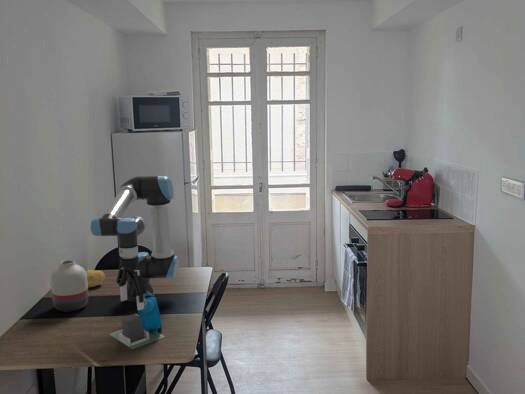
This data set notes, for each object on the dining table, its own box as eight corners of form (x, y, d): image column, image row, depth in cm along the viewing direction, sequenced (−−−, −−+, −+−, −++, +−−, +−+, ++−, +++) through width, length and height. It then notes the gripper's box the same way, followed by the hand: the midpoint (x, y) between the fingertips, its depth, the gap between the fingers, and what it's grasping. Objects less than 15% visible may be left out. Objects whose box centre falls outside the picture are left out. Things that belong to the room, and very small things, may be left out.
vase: (65, 300, 267) (61, 256, 262) (95, 301, 263) (92, 257, 259) (46, 312, 250) (41, 266, 246) (77, 315, 247) (74, 267, 243)
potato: (79, 284, 289) (78, 268, 288) (106, 283, 292) (105, 266, 290) (76, 291, 280) (74, 274, 278) (103, 289, 282) (102, 272, 280)
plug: (123, 340, 216) (121, 317, 215) (137, 335, 221) (135, 312, 219) (129, 344, 213) (127, 320, 211) (143, 338, 218) (142, 315, 216)
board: (108, 336, 223) (108, 333, 223) (141, 325, 234) (141, 322, 234) (132, 351, 209) (132, 348, 209) (165, 339, 220) (165, 336, 220)
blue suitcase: (163, 338, 221) (161, 294, 217) (139, 341, 218) (136, 296, 215) (161, 322, 237) (159, 281, 233) (138, 325, 234) (135, 283, 231)
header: (119, 340, 217) (118, 332, 216) (139, 333, 223) (139, 325, 223) (128, 346, 211) (128, 338, 210) (149, 339, 218) (149, 331, 217)
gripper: (106, 251, 217) (109, 299, 221) (136, 264, 199) (139, 316, 203) (122, 248, 222) (125, 294, 226) (153, 260, 204) (156, 310, 208)
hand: (132, 304), depth 215 cm, fingers open, 13 cm apart
